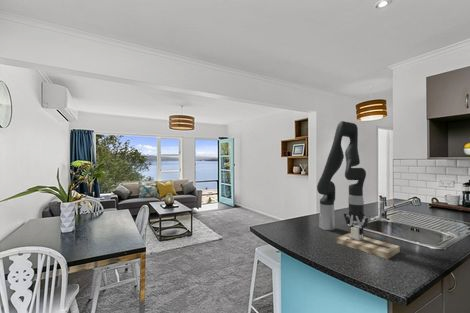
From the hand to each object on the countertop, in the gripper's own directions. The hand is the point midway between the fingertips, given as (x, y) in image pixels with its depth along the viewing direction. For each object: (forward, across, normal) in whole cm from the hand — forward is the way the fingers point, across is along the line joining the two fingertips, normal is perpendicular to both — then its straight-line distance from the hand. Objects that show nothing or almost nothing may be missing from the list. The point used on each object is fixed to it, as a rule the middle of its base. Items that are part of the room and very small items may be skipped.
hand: (356, 233), depth 125 cm
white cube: (+3, 0, 0) cm, 3 cm away
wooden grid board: (+6, +5, 0) cm, 8 cm away
